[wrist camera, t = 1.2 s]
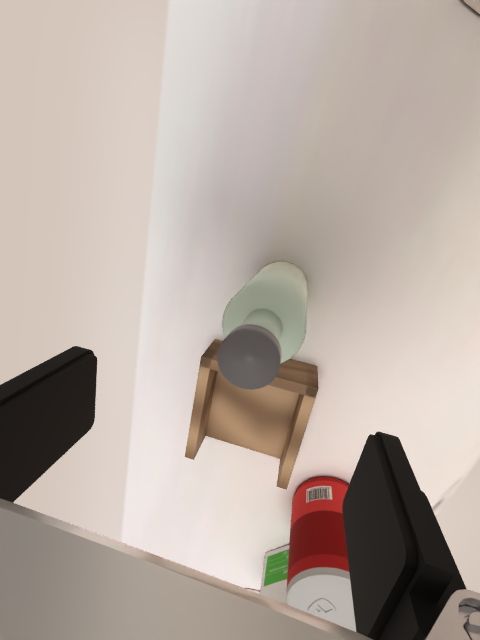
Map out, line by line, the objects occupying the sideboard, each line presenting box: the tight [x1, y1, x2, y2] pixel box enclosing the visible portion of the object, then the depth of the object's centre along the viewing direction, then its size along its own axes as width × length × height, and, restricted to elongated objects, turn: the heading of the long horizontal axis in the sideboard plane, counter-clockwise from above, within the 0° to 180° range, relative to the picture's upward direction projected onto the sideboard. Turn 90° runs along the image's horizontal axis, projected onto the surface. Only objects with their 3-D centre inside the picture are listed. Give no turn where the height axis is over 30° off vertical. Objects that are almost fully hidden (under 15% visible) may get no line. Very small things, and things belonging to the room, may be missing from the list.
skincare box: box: [260, 545, 289, 604], centre depth 33 cm, size 8×7×16 cm
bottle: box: [217, 261, 308, 390], centre depth 23 cm, size 5×5×17 cm
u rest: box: [185, 339, 318, 490], centre depth 33 cm, size 12×11×5 cm
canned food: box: [287, 477, 356, 632], centre depth 32 cm, size 8×8×11 cm
